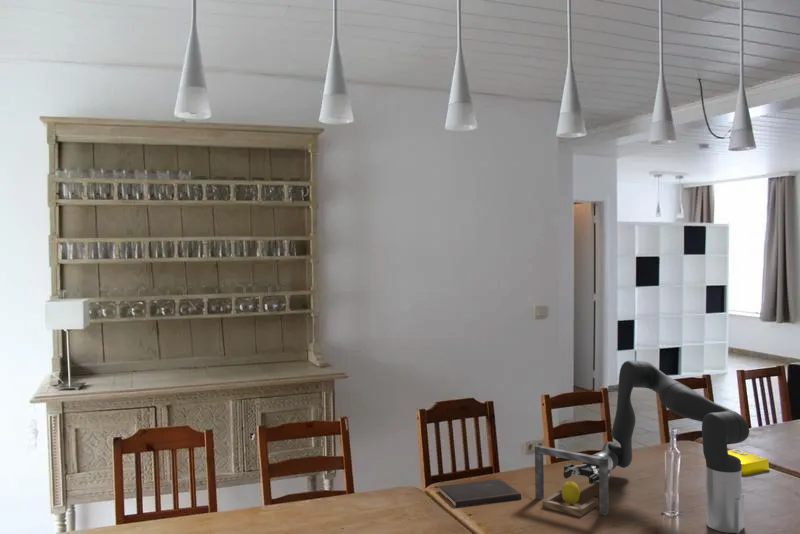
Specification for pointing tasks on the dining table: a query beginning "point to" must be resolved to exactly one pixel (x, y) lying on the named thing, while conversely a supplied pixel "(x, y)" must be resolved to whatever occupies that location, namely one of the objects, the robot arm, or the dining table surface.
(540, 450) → the keeper pocket
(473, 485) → the hardcover book
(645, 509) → the dining table surface
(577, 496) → the lemon
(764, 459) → the yellow flat square block
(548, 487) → the dining table surface
